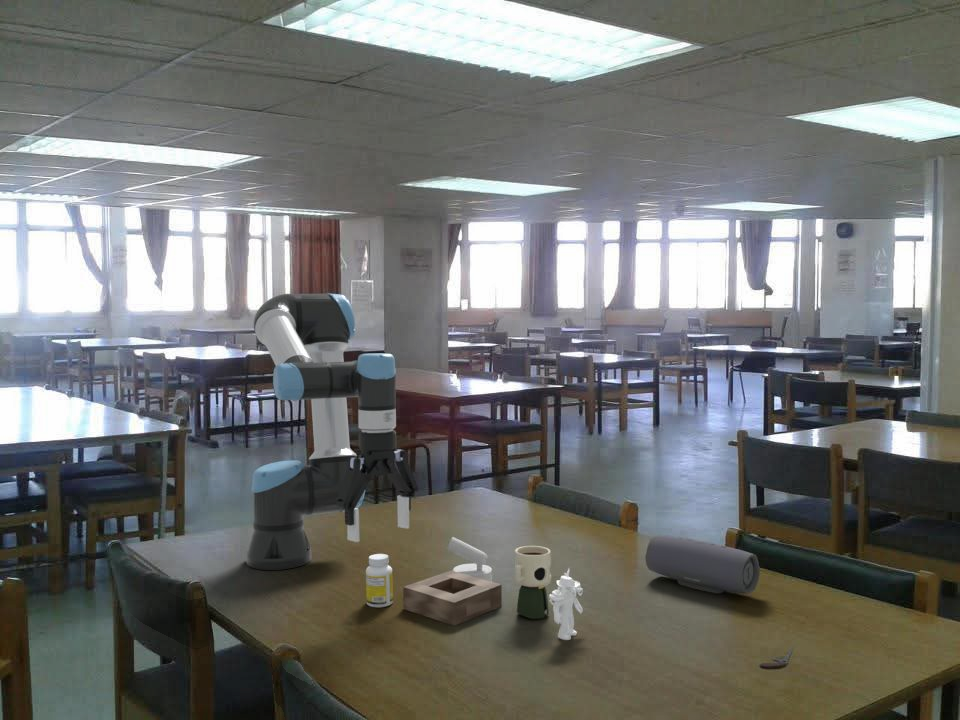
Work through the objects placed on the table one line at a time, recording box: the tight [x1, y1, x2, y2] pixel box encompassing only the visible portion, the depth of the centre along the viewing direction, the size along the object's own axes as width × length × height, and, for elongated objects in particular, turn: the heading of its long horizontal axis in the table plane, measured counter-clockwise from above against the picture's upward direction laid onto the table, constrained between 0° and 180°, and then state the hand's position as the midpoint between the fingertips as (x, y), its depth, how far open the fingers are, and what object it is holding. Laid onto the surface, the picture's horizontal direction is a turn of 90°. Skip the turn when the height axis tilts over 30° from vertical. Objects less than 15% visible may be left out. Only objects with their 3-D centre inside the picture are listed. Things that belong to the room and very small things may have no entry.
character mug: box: [514, 545, 552, 619], centre depth 169 cm, size 11×7×13 cm, turn 142°
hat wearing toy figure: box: [548, 567, 584, 641], centre depth 159 cm, size 9×4×12 cm, turn 143°
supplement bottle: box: [365, 553, 394, 608], centre depth 177 cm, size 5×5×10 cm
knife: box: [758, 647, 795, 670], centre depth 151 cm, size 14×4×1 cm, turn 150°
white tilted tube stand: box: [446, 536, 493, 582], centre depth 191 cm, size 9×10×10 cm
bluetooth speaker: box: [645, 534, 761, 595], centre depth 186 cm, size 23×9×10 cm, turn 47°
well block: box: [402, 570, 503, 627], centre depth 174 cm, size 14×14×4 cm
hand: (379, 534), depth 176 cm, fingers open, 13 cm apart
